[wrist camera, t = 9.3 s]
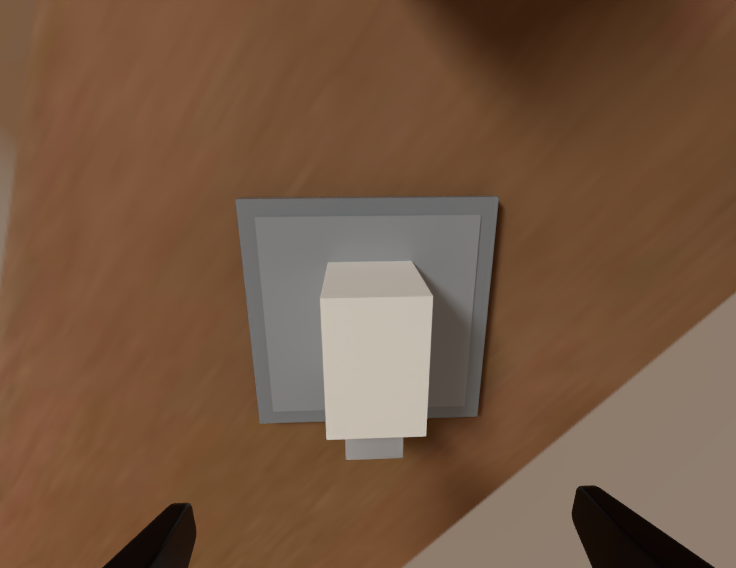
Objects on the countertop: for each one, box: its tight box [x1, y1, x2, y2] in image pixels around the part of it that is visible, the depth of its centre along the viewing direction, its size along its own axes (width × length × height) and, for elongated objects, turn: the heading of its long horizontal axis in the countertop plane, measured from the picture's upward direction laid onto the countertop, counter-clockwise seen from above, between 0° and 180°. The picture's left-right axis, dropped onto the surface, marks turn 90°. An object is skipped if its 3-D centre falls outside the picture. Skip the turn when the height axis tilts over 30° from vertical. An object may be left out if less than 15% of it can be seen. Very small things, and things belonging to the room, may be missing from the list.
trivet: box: [236, 195, 499, 423], centre depth 20 cm, size 12×12×1 cm
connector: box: [320, 261, 433, 460], centre depth 17 cm, size 4×8×5 cm, turn 0°
